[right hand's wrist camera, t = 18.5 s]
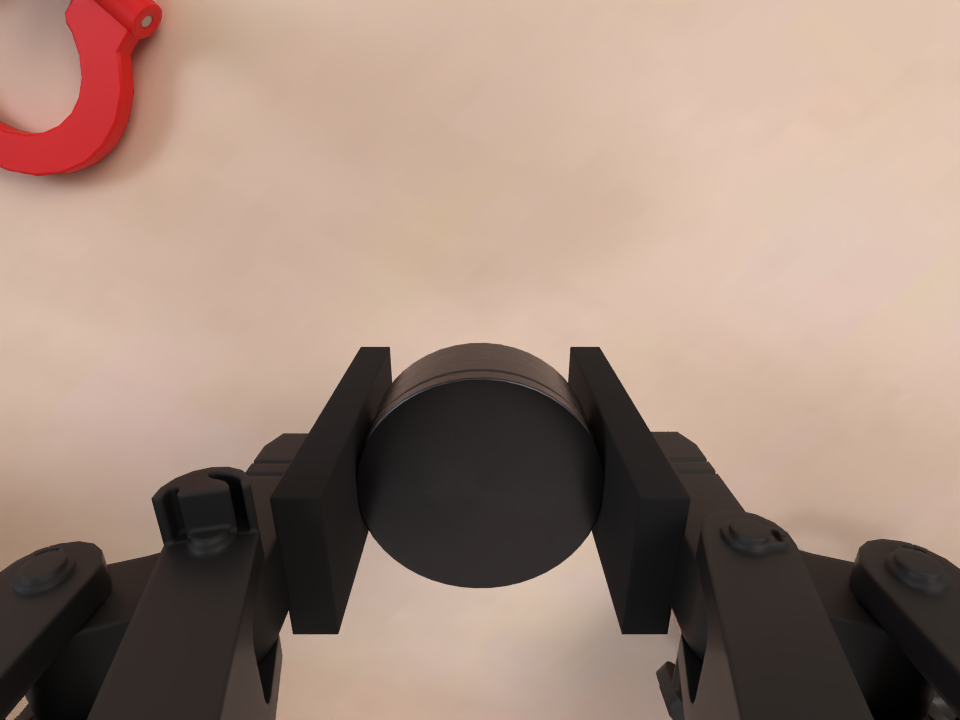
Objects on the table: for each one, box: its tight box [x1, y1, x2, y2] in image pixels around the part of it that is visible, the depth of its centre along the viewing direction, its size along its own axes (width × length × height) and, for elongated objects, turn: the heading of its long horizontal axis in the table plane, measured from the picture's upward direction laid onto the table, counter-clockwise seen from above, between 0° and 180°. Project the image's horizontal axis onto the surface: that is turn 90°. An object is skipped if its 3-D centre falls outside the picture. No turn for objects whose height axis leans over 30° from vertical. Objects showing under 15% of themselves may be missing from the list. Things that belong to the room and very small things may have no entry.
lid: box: [356, 343, 605, 588], centre depth 11 cm, size 5×5×2 cm
